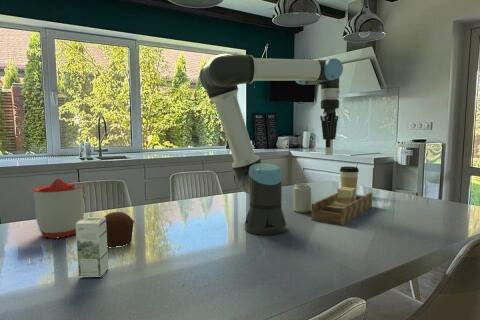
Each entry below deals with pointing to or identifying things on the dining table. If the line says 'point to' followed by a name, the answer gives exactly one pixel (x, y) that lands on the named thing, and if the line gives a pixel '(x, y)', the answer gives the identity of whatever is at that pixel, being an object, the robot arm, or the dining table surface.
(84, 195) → the citrus juicer
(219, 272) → the dining table surface
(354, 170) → the coffee cup
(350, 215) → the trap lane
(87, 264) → the syrup box
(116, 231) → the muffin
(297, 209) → the can
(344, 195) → the maple block
